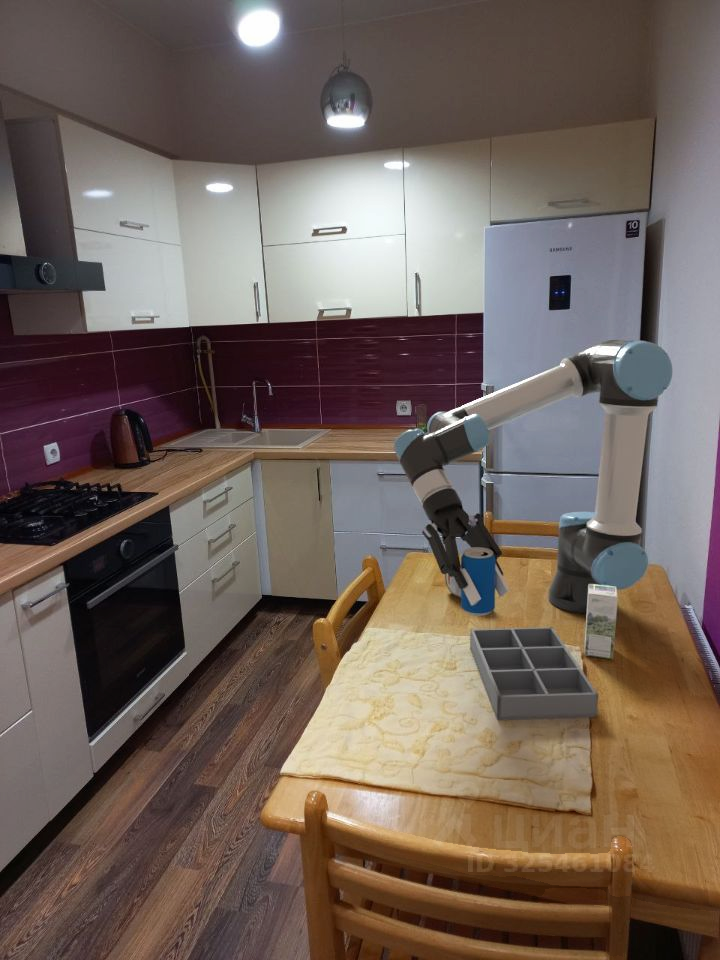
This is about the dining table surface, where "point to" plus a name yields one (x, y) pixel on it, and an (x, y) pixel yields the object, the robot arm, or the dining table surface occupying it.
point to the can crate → (531, 674)
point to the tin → (452, 585)
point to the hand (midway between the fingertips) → (490, 597)
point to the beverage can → (479, 579)
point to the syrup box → (600, 621)
